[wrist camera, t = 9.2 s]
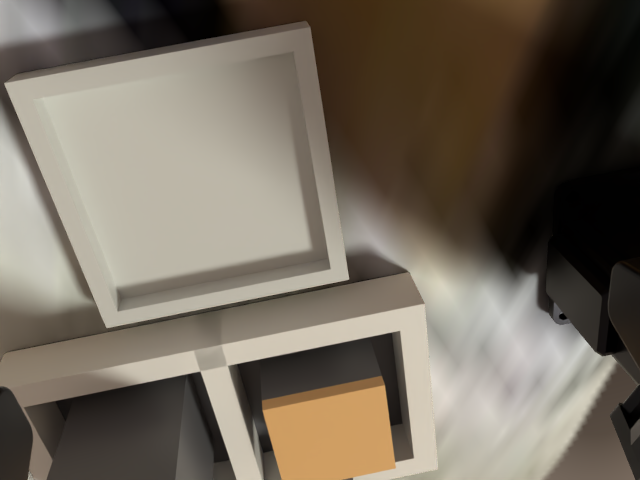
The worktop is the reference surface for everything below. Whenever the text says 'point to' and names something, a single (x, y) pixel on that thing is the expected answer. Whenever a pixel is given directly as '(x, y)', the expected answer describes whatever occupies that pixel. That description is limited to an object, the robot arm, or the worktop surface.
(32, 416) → the two-cubby shelf
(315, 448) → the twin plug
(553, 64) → the worktop surface
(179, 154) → the tray
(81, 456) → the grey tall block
